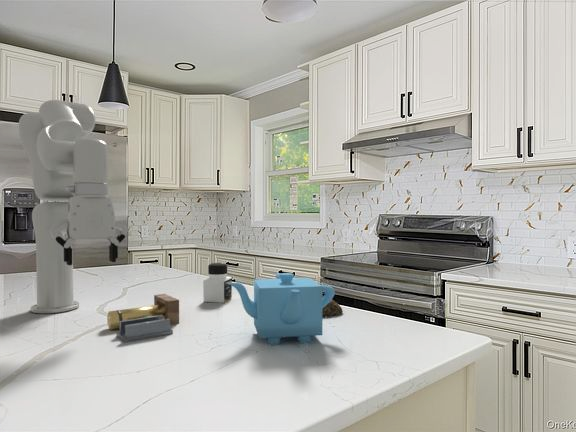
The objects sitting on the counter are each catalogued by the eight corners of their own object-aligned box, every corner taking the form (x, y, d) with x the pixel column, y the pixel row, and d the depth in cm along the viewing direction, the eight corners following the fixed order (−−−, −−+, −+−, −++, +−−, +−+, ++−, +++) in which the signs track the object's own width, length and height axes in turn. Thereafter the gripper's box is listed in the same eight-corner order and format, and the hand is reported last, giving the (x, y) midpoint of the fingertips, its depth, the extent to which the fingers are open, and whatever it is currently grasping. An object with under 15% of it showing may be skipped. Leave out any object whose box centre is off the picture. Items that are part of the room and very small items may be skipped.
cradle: (116, 335, 100) (116, 321, 100) (162, 327, 107) (162, 314, 107) (124, 342, 95) (124, 327, 95) (172, 333, 102) (172, 319, 102)
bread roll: (303, 319, 116) (303, 301, 116) (293, 309, 128) (293, 292, 128) (349, 317, 119) (349, 299, 118) (335, 307, 131) (335, 290, 131)
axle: (111, 333, 104) (112, 316, 103) (106, 324, 108) (108, 308, 107) (167, 324, 112) (169, 308, 111) (161, 316, 116) (163, 301, 115)
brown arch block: (154, 317, 118) (154, 295, 118) (164, 315, 119) (164, 293, 119) (167, 324, 110) (167, 301, 110) (179, 323, 111) (179, 299, 111)
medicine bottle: (224, 303, 135) (224, 264, 135) (203, 302, 136) (202, 264, 136) (232, 298, 142) (231, 262, 142) (211, 297, 143) (211, 261, 143)
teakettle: (340, 334, 101) (340, 272, 101) (296, 356, 86) (296, 283, 86) (275, 322, 112) (275, 266, 112) (226, 340, 97) (226, 275, 97)
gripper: (52, 190, 95) (53, 268, 95) (132, 191, 105) (133, 262, 105) (47, 191, 101) (48, 264, 101) (123, 192, 111) (123, 259, 111)
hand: (91, 263), depth 103 cm, fingers open, 9 cm apart
